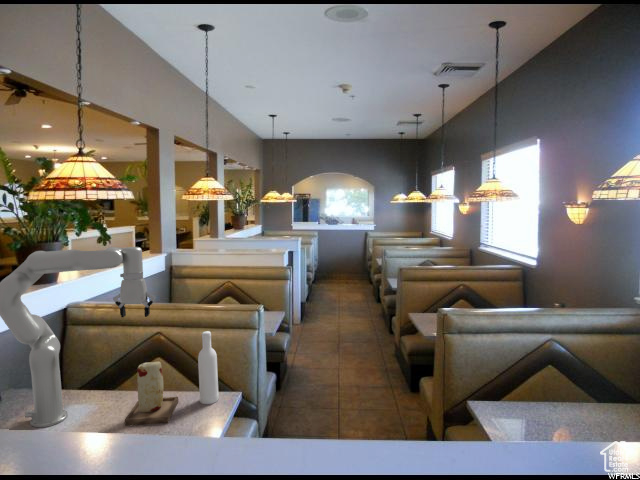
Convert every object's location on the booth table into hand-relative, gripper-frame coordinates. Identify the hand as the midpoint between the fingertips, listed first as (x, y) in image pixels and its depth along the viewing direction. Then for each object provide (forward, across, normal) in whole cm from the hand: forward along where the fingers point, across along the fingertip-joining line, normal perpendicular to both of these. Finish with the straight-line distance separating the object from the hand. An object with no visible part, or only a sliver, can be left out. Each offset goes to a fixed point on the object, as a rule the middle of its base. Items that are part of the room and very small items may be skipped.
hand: (135, 316), depth 186 cm
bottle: (+37, +30, -2) cm, 48 cm away
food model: (+36, +9, -12) cm, 39 cm away
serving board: (+37, +10, -12) cm, 40 cm away
